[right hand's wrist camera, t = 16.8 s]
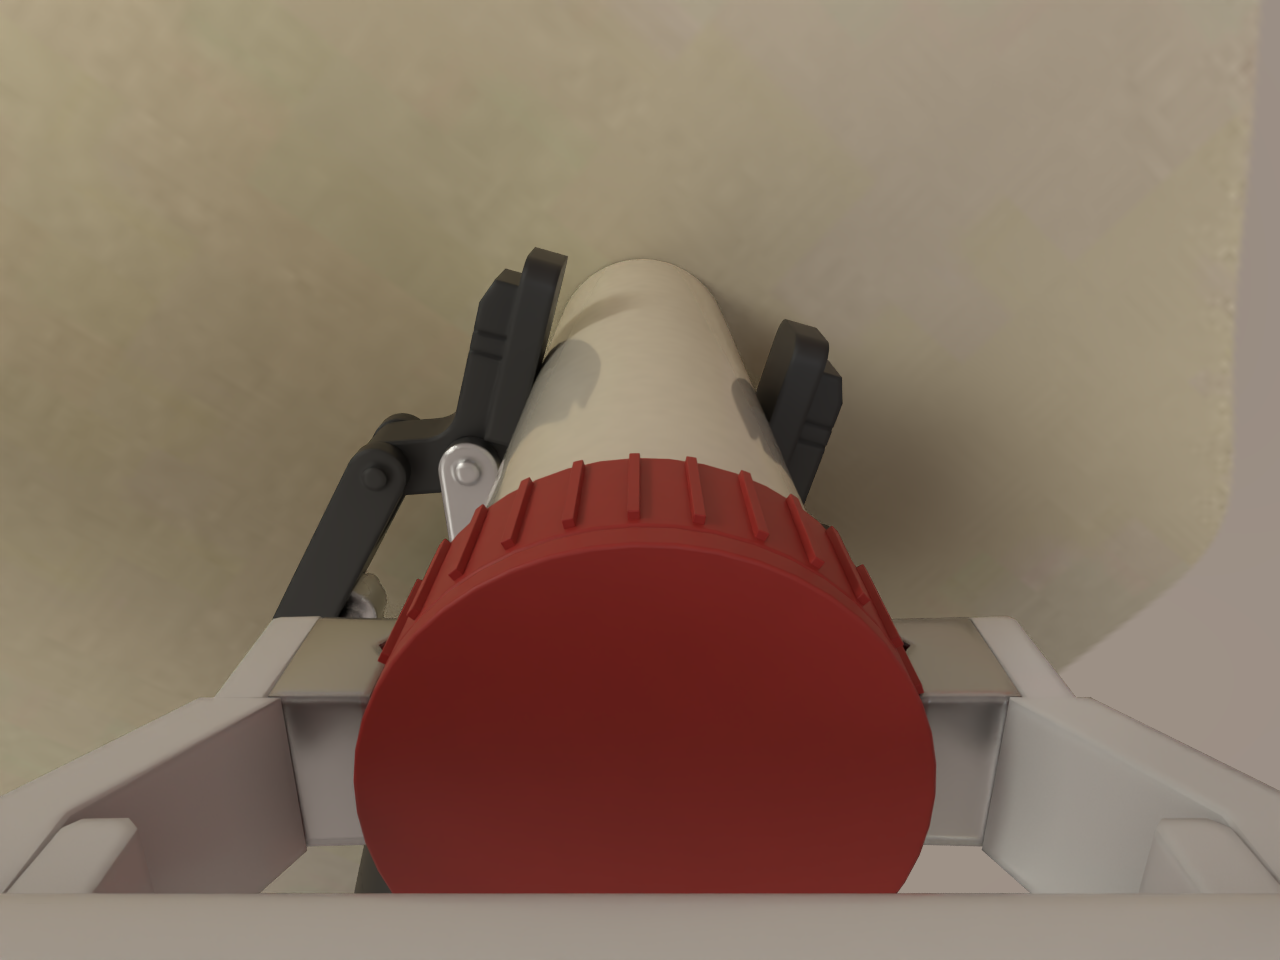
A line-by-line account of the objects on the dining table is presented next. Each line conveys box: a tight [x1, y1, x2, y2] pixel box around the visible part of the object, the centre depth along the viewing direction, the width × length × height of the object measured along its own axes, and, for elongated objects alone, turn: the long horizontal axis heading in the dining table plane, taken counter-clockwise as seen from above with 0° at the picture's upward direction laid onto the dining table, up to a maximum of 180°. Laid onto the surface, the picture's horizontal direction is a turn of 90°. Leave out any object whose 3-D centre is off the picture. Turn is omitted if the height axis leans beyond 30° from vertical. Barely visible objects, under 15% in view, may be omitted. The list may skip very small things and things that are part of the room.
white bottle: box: [484, 259, 806, 512], centre depth 17 cm, size 5×5×18 cm
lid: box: [353, 453, 936, 893], centre depth 9 cm, size 6×6×2 cm
